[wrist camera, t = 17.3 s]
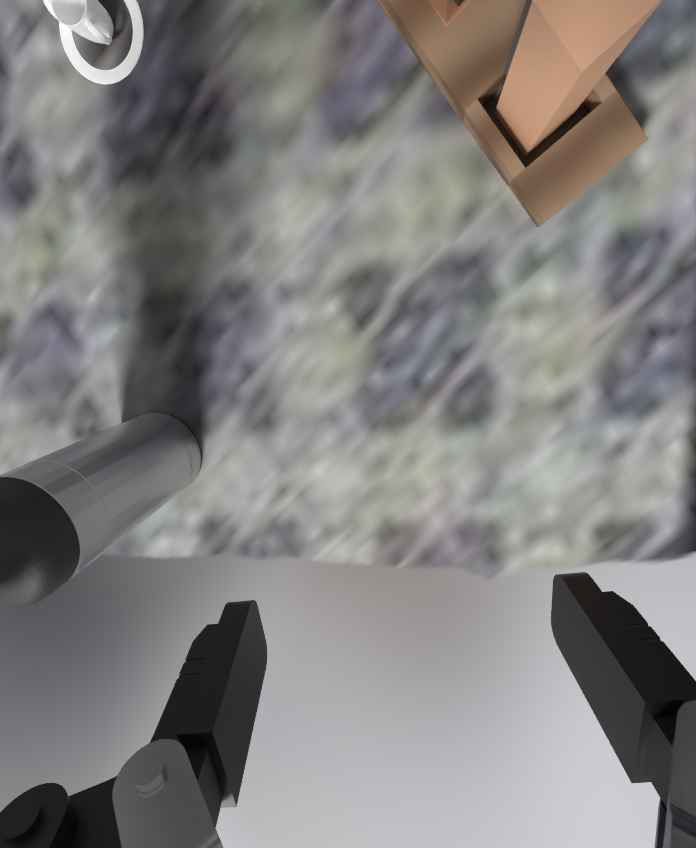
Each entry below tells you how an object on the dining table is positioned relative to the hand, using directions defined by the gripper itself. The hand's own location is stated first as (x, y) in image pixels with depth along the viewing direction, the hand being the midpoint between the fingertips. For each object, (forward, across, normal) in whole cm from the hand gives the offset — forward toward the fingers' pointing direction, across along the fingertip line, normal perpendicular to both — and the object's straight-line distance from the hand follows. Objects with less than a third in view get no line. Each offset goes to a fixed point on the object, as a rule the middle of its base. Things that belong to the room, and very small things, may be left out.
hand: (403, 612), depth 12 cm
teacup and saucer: (+38, +18, -33) cm, 53 cm away
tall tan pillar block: (+30, -14, -18) cm, 38 cm away
